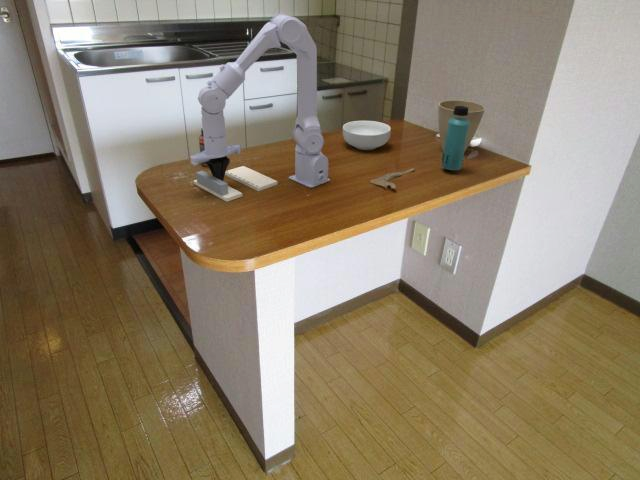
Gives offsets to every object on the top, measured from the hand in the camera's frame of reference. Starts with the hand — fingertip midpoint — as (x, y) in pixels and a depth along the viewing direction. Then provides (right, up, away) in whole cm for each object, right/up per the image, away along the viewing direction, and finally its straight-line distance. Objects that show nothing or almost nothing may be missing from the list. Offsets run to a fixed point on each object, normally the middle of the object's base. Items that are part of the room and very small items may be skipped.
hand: (219, 183), depth 125 cm
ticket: (+7, +2, +7) cm, 11 cm away
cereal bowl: (+44, +17, +36) cm, 59 cm away
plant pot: (+74, +15, +33) cm, 83 cm away
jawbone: (+52, +1, +10) cm, 53 cm away
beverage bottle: (+69, +6, +17) cm, 71 cm away
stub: (-1, -2, 0) cm, 2 cm away
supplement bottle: (-6, +8, +17) cm, 20 cm away
